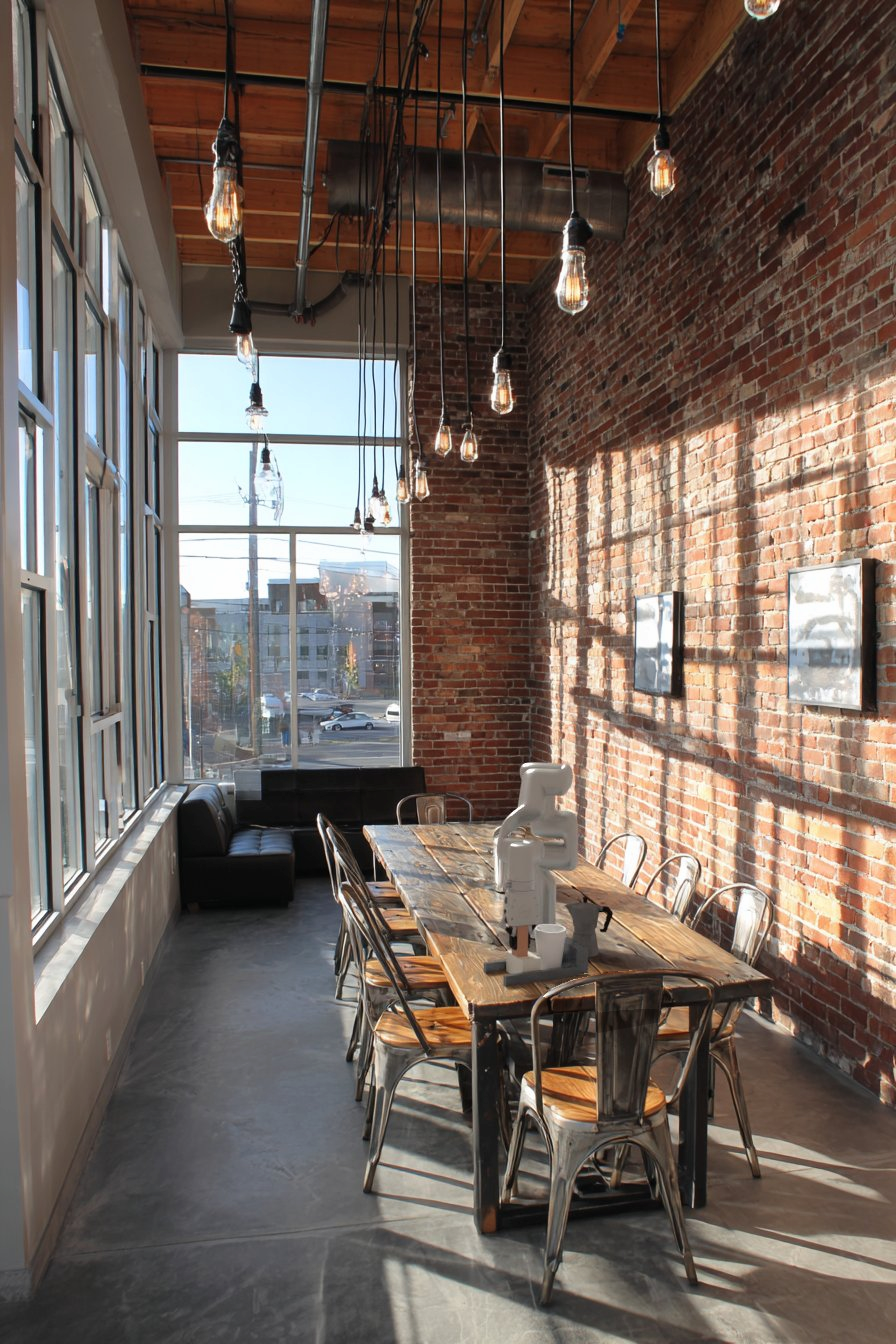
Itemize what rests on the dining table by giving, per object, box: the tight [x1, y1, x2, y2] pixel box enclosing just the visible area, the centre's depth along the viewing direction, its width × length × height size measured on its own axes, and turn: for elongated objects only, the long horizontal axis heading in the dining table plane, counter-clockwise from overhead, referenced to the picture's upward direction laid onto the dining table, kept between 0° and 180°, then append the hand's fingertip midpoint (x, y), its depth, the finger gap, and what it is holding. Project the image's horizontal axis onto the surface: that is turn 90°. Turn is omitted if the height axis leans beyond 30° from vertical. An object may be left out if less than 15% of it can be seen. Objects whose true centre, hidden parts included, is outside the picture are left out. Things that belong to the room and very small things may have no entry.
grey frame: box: [483, 935, 589, 987], centre depth 279 cm, size 14×28×8 cm, turn 115°
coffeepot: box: [564, 896, 614, 958], centre depth 300 cm, size 15×9×18 cm, turn 69°
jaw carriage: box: [505, 925, 541, 974], centre depth 277 cm, size 10×6×18 cm, turn 25°
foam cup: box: [534, 924, 567, 970], centre depth 281 cm, size 10×9×13 cm
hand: (519, 947), depth 277 cm, fingers closed on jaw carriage, 3 cm apart
